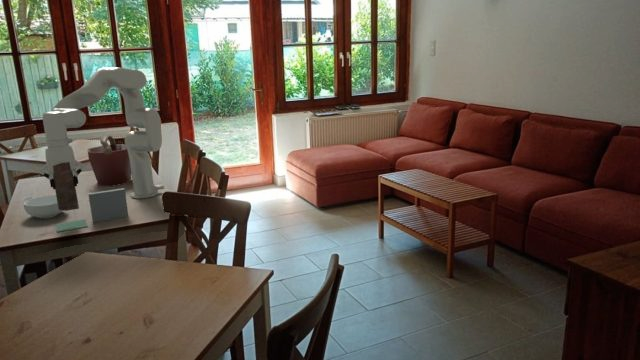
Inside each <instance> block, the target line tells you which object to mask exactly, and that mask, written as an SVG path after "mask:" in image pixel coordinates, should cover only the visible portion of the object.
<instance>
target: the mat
mask: <svg viewBox="0 0 640 360" xmlns="http://www.w3.org/2000/svg"><path fill="white" fill-rule="evenodd" d="M55 228H56V233H62V232H67V231H73V230H79V229H84V228H89V227H88V224H87V221H86V219H85V218H84V219H78V220H72V221H67V222H62V223H60V222H59V223H56V224H55Z"/></svg>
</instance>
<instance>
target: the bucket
mask: <svg viewBox="0 0 640 360" xmlns="http://www.w3.org/2000/svg"><path fill="white" fill-rule="evenodd" d="M99 141H100V144H101V145H98V146H93V147H90V148H87V155H88V160H89V163H90V166H91V168H92V171H93V174H94V176H95V177H94V178H95V180H96V182H97V185H98V186H100V187H113V185H115V186H119V185H118V184H120V185H124V184H123V183H126V182H127V183H129V182H130V181H131V180H132V175H131V167H130V160H129V154H128V151H127V148H126V145H125V143H122V144H121V143H120V144H119V143H118V144H116V143H117V142H116V140H115V138H114V137H113V136H111V135H104V136H103V137H101V139H100V140H99ZM130 179H131V180H130ZM129 180H130V181H129ZM127 183H126V184H127Z"/></svg>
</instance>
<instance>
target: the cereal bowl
mask: <svg viewBox="0 0 640 360" xmlns="http://www.w3.org/2000/svg"><path fill="white" fill-rule="evenodd" d="M23 208H24V211H25V212H26V214H27V215H29V216H31V217H36V218H38V219H51V218H54V217H56V216H58V215H59V214H60V213H62V212H64V211H63V210H59V209H58V203H57V197H56V194H54V195H53V194H52V195H45V196H39V197H35V198H31V199H29V200H26V201H24V203H23Z"/></svg>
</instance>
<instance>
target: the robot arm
mask: <svg viewBox="0 0 640 360" xmlns="http://www.w3.org/2000/svg"><path fill="white" fill-rule="evenodd" d="M146 85H147V76H146V75H145V74H144V72H142V71H141V70H137V69H131V68H124V67H115V66H111V67H100V68H98V69H97V70H96V71H95V72H94V73H93V74H92V75H91V76H90V77H89V78H88V80H86V82H85V83H84V84H83V85H82V86H81V87H80V88H78V89H77V90H75V91H73V92H72V93H70V94H68V95H66V96H64V97H62V98H61V99H60V100H59V101H58V102H57V103H56V104H55V106H53V108H52V109H51V110H50V111H47V112H46V111H45V112H43V113H42V116H41V117H42V122H43V123H42V124H43V130H44V135H45V140H46V147H45V151H44V152H45V161H46V162H45V163H44V164H43V166H42V167H40V168H39V169H38V172H39V173H40V175H42V176H43V177H45V179H46V178H47V180H49V184H50V188H52V190H54V191H55V185H54V179H53V173H54V171H53V166H56V165H59V164H62V163H68V162H69V163H70V168H71V171H72V173H73V177H74V183H75V187H78V184H79V179H78V176H79V175H80V174H81V172H82V171H83V169H84V168H85V164H84V163H82V162H79V161H78V160H76V159H75V153H74V149H73V147H72V145H71V144H72V143H73V138H68V131H67V129H77V128H81V127H82V126H84V124H85V123H86V121H87V116H86V114H85V113H84V111H82V110H81V109H83V108H86V107H91V106H93V105H95V104H99V102H100V101H101V100H102V99H103V97H104V96H105V95H106V93H108V91H109V90H110V89H111V88H115V89H116V90H117V91H118V92H119V93H120V94H121V96H122V98H123V103H124V111H125V113H124V114H125V119H126V124H127V125H128V127H130V128H134V129H145V130H131V131H129V132H127V133H126V135H125V136H124V144H125V145H126V148H127V151H128V154H129V160H130V167H131V181H132V188H133V192H131V193H130V197H131V198H132V199H148V198H153V197H155V196H157V195H158V194H159V192H158V190H164V189H165V185H163V184H162V185H161V184H157V185H156V184H155V183H154V177H153V169H152V168H153V167H152V161H151V156H150V154H149V153H150V152H153V153H154V152H158V151H159V150H160V149H161V147H162V144H163V133H162V123H161V116H160V114H159V112H158V111H157V110H156V109H155V108H152V107H145V104H144V102H145V101H144V96H143V94H142V92H141V90H142V89H144V88H145V87H146ZM148 152H149V153H148ZM77 166H78V169H77ZM46 169H47V172H48V173H47V172H46V171H45V170H46ZM76 169H77V170H76Z"/></svg>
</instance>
